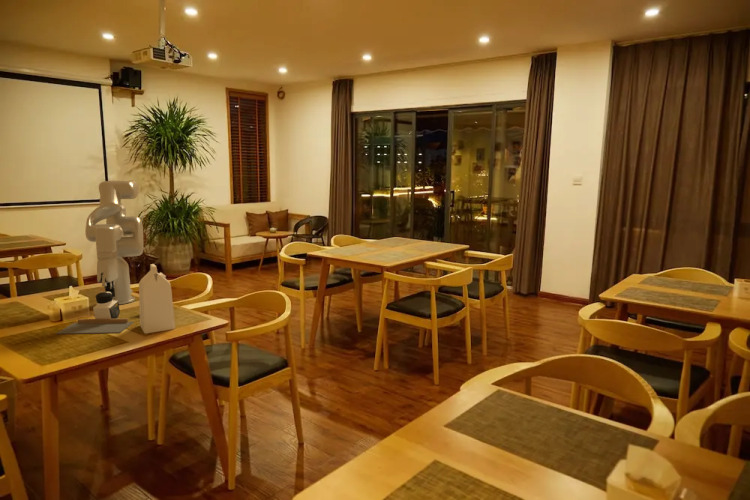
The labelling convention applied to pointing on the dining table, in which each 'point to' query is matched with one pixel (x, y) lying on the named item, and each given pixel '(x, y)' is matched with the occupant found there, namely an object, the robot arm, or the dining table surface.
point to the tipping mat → (96, 326)
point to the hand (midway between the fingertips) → (110, 297)
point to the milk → (155, 302)
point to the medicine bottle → (106, 306)
